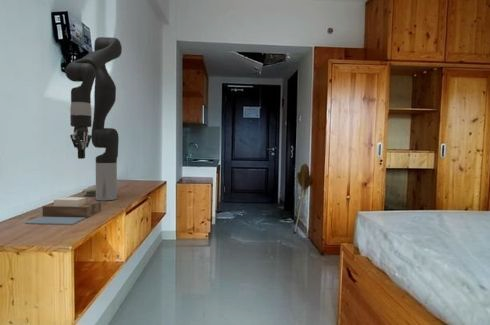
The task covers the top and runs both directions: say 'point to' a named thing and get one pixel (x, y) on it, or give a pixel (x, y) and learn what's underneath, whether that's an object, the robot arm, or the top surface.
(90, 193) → the packaged product
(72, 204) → the cream thick tile
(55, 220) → the mat
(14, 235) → the top surface
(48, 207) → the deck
